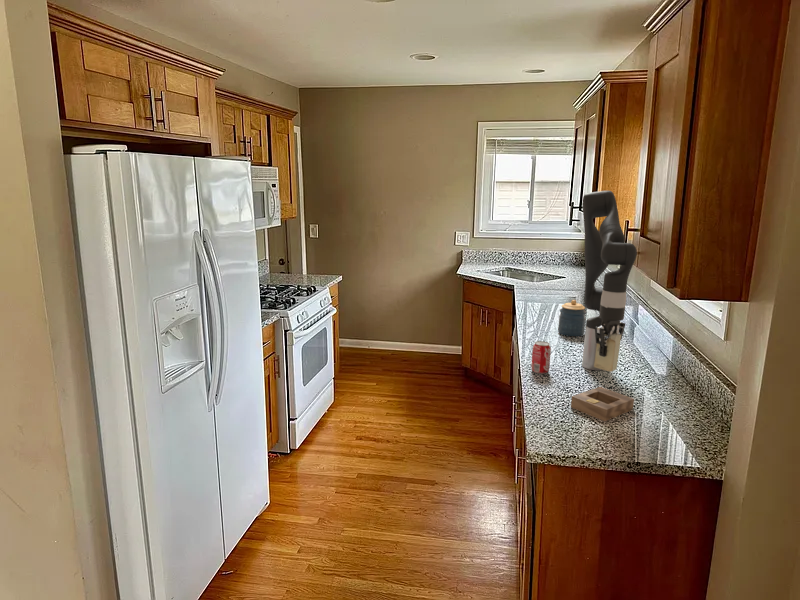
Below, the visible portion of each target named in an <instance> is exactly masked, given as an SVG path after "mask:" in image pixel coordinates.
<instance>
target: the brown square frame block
mask: <svg viewBox="0 0 800 600" xmlns="http://www.w3.org/2000/svg"><path fill="white" fill-rule="evenodd" d="M634 402H635V398H633V397H631V396H628V395H625V394H622V393H619V392H616V391H613V390H610V389H608V388H604V387H601V386H598V387H595V388H592V389H588V390H586V391H584V392H581V393H577V394H574V395H572V396H571V403H570V408H571V409H574V410H576V411H579V412H581V413H584V414H586V415H589V416H591V417H593V418H596V419H598V420H601V421H604V422H607V421H609V420H612V419H615V418H617V417H619V416H621V415H624V414H626V413H629V412H631V411H633V410H634Z"/></svg>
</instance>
